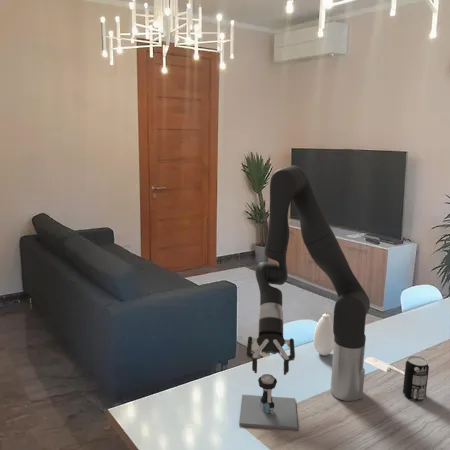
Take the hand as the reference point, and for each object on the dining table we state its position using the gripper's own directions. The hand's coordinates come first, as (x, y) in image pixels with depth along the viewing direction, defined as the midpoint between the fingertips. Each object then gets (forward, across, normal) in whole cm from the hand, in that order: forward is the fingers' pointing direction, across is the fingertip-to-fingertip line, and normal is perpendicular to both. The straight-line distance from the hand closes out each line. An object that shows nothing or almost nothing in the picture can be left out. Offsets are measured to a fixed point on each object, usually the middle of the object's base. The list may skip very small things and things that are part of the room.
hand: (270, 373), depth 135 cm
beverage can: (0, +45, +16) cm, 47 cm away
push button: (+9, -1, +5) cm, 11 cm away
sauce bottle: (-17, +20, +33) cm, 42 cm away
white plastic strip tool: (-11, +40, +28) cm, 50 cm away
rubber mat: (+10, 0, +6) cm, 11 cm away
